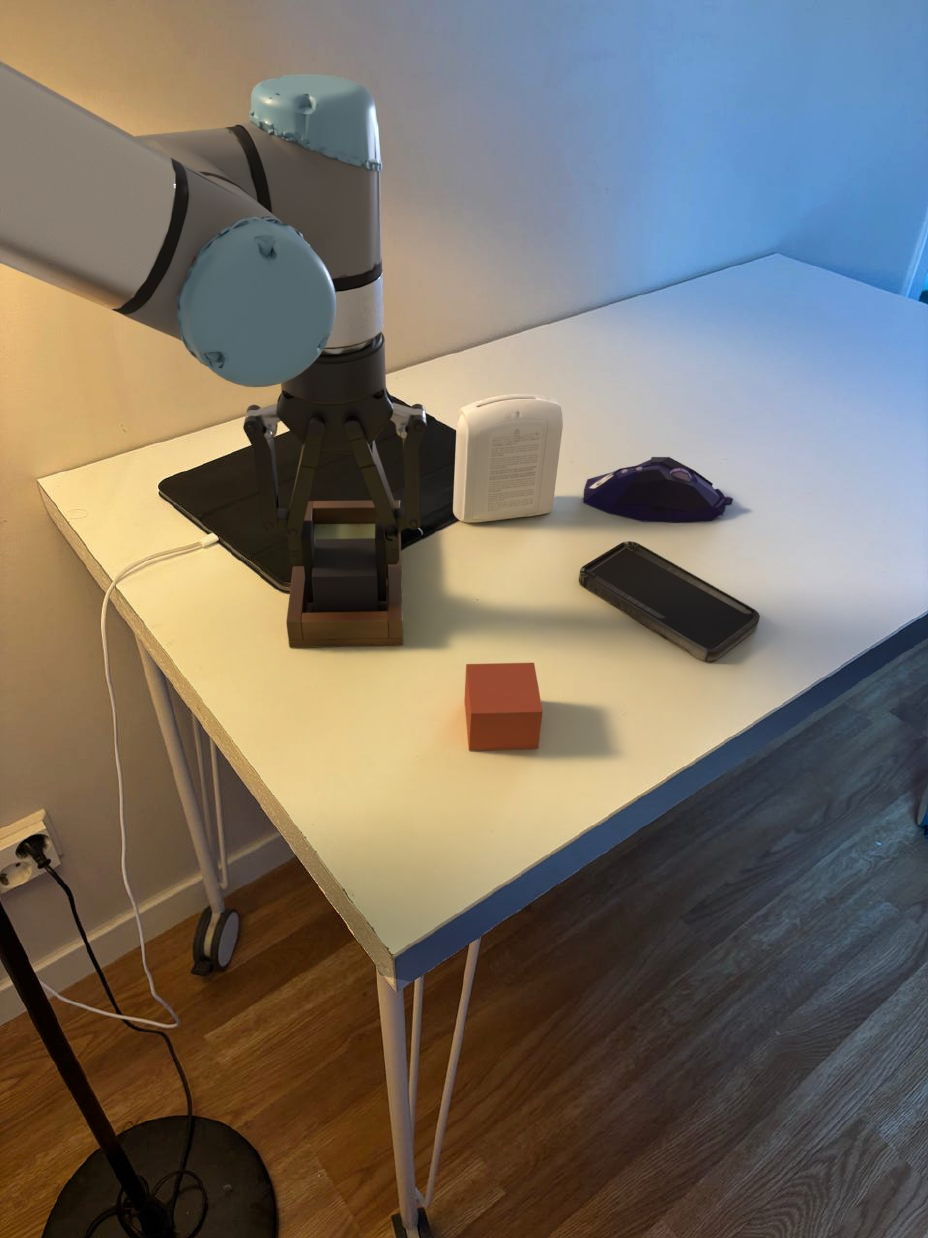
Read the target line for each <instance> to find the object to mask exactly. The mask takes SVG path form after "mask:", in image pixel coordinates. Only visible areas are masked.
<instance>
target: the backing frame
mask: <svg viewBox="0 0 928 1238" xmlns="http://www.w3.org/2000/svg"><path fill="white" fill-rule="evenodd" d="M394 502H395V505H396V508H400V507H401V500H395V499H394ZM378 519H379V517H378V515H377V512H376V509H375V506H374V504H373V501H372V500H309V501H308V505H307V510H306V514H305V519H304V520H313V531H314V542H315V539H355V538H375V520H378ZM402 569H403V568H402V531H401V532H400V534H399V561H398V563H397V564H395V565H386V601H378V612H322V613H315V605H314V603H307V593H306V583H305V573H304V566H292V571H291V579H290V587H289V597H288V605H287V613H286V621H285V622H286V623H285V624H286V630H287V637H288V638H287V639H288V647H289V648H330V647H331V648H332V647H333V648H335V647H336V648H337V647H380V646H381V647H382V646H383V647H385V646H403V645H404V620H403V619H404V618H403V617H404V616H403V577H402V576H403V575H402V574H403V573H402Z"/></svg>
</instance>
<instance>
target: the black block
mask: <svg viewBox="0 0 928 1238" xmlns="http://www.w3.org/2000/svg"><path fill="white" fill-rule="evenodd" d="M312 584H313V594H314V605H315V613H322V612H378V589H377V567H376V553H375V538H355V539H315V553H314V564H313V570H312Z"/></svg>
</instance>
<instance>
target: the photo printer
mask: <svg viewBox="0 0 928 1238" xmlns="http://www.w3.org/2000/svg"><path fill="white" fill-rule="evenodd" d="M563 421H564V419H563V411H562V406H561V404H560V403H558V401H557V399H555V398H552V397H549V396H545V395H539V394H530V393H529V394H528V393H527V394H526V393H524V394H523V393H513V394H504V395H497V396H492V397H488V398H484V399H481V400H477V401H474V402H471V403H469V404H468V405H465V406H463V407H461V408H460V409H459V412H458V414H457V424H456V432H455V455H454V456H455V457H454V477H453V478H454V479H453V498H452V499H453V500H452V513H453V515H454V517H455V518H456V519H457V520H459V521H460V522H462V523H482V522H492V521H499V520H507V519H517V518H524V517H533V516H538V515H540V516H541V515H545V514H550V513H551V512H552V511H553V507H554V501H555V492H556V484H557V475H558V468H559V458H560V451H561V444H562V434H563V427H564V426H563V425H564V423H563Z"/></svg>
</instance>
